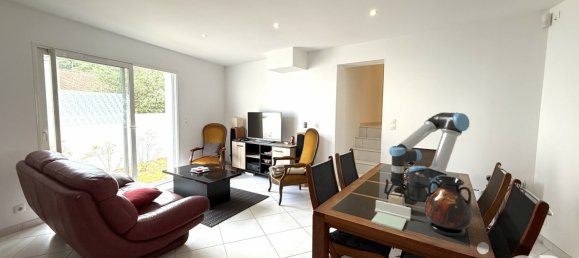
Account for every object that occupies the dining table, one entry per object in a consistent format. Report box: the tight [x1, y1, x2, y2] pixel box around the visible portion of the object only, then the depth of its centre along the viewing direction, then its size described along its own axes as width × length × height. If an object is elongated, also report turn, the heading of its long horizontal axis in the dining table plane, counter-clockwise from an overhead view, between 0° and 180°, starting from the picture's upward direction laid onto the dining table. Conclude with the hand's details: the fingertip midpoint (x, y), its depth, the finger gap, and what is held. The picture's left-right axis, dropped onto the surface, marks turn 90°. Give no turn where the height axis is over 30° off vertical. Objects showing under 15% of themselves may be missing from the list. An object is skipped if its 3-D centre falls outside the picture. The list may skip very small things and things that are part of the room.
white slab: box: [374, 199, 412, 221], centre depth 143 cm, size 3×20×6 cm, turn 54°
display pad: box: [371, 212, 407, 232], centre depth 135 cm, size 14×16×1 cm
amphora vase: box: [423, 175, 474, 238], centre depth 125 cm, size 22×22×28 cm
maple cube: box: [389, 191, 404, 206], centre depth 151 cm, size 8×8×8 cm
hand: (396, 205), depth 152 cm, fingers closed on maple cube, 8 cm apart
